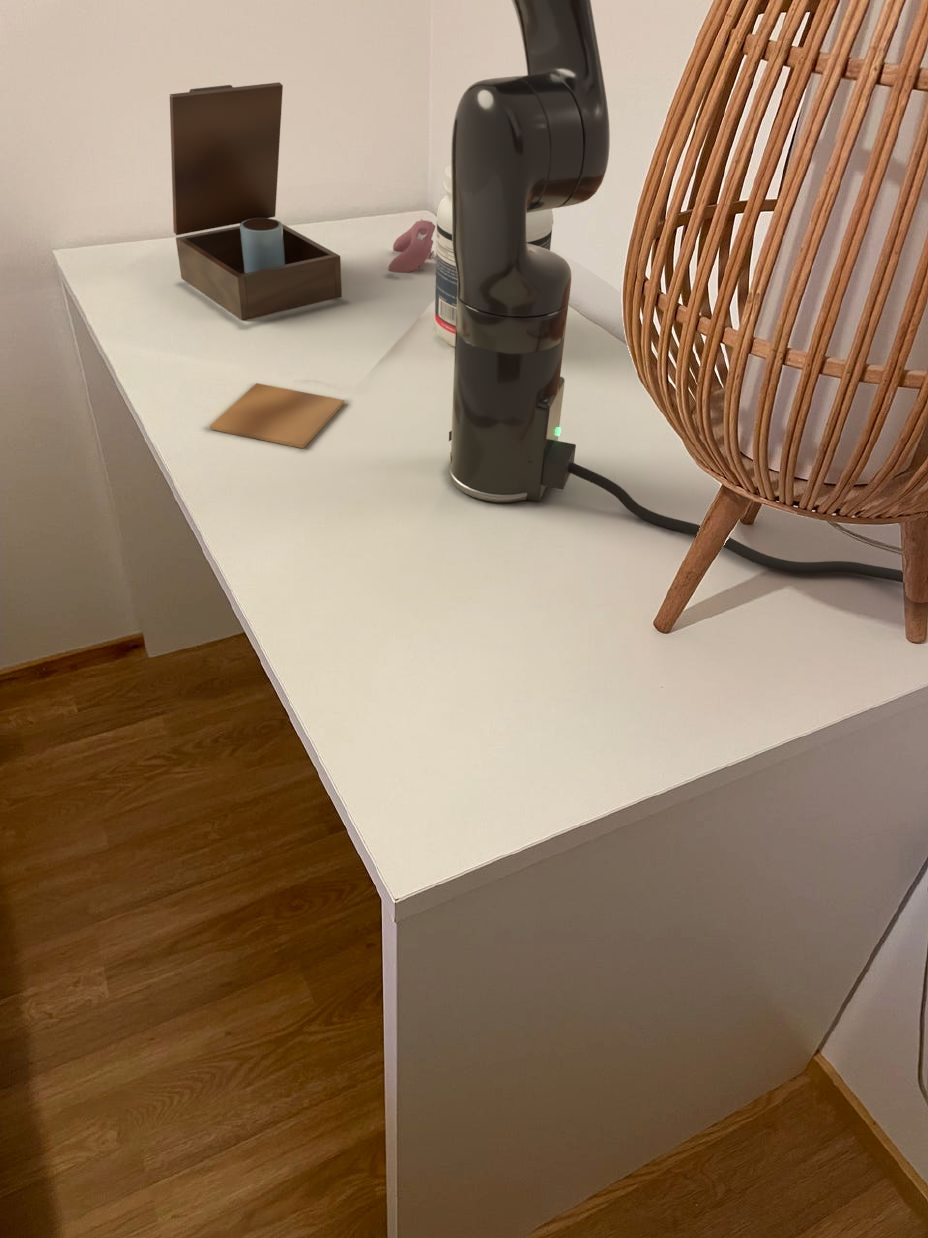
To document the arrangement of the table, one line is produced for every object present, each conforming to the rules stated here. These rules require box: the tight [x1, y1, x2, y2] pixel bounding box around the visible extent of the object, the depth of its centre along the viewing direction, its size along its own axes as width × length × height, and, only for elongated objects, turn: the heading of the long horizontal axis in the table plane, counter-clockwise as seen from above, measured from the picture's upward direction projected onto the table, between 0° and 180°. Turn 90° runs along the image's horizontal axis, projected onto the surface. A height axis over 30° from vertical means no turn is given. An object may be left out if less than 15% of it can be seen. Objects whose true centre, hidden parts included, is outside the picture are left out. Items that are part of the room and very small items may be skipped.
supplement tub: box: [434, 164, 554, 348], centre depth 109 cm, size 13×13×18 cm
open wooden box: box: [175, 223, 343, 322], centre depth 120 cm, size 16×14×6 cm
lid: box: [169, 82, 284, 236], centre depth 117 cm, size 17×14×5 cm
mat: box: [209, 382, 345, 449], centre depth 98 cm, size 10×10×1 cm
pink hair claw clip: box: [388, 217, 436, 273], centre depth 130 cm, size 10×5×7 cm, turn 179°
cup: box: [239, 218, 285, 273], centre depth 118 cm, size 5×5×8 cm
